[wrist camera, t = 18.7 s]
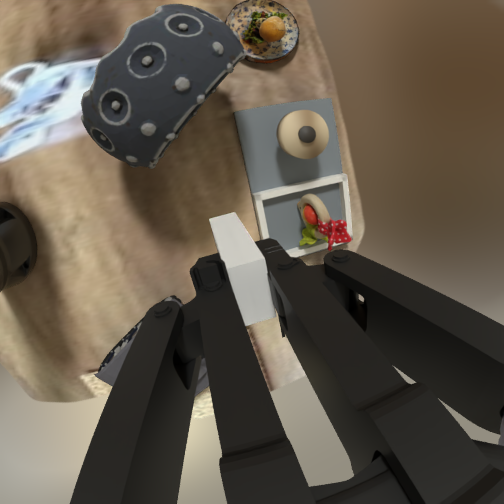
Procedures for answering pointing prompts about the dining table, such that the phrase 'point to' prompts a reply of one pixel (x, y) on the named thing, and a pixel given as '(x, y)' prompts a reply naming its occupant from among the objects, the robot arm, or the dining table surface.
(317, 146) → the wheel
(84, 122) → the dotted grey bowl
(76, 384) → the dining table surface
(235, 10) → the burger
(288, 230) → the board
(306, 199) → the bird rattle
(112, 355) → the toy tank
